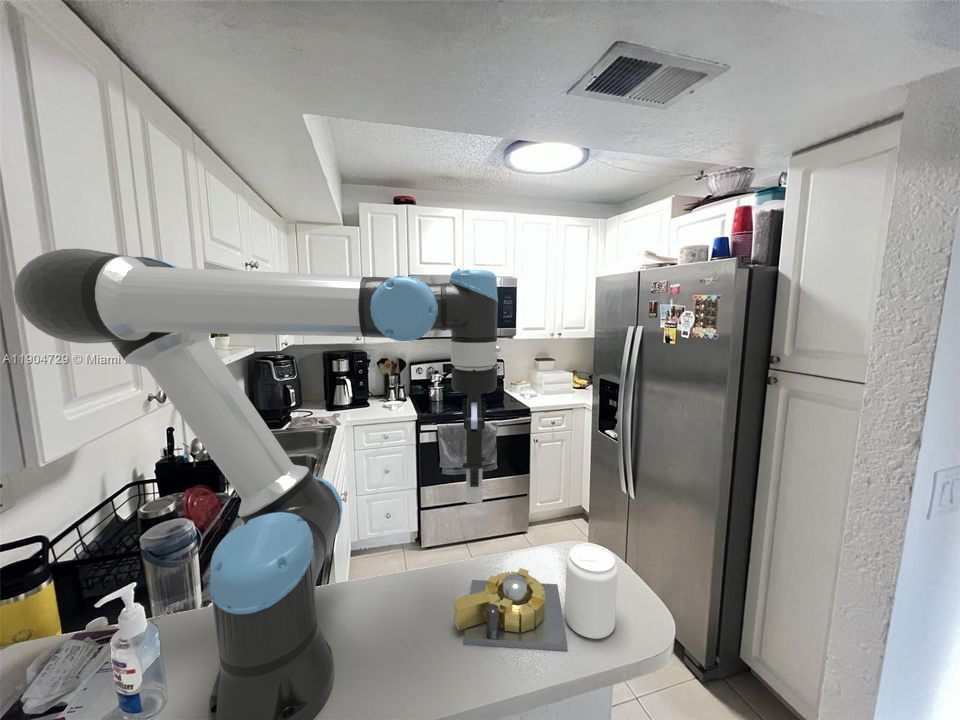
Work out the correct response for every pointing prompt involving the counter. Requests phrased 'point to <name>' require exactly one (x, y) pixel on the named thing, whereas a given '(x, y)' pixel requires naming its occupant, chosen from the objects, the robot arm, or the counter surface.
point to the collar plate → (541, 637)
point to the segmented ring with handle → (502, 605)
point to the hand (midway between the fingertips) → (474, 500)
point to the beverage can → (591, 590)
